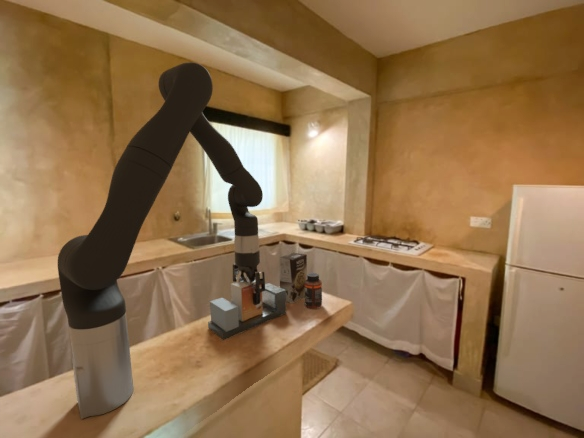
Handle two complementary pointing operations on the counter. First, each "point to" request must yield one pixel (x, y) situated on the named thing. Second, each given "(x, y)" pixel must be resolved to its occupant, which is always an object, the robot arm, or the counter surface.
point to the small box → (245, 300)
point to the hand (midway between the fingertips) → (248, 299)
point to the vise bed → (271, 309)
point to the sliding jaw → (224, 314)
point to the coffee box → (293, 276)
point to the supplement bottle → (313, 291)
